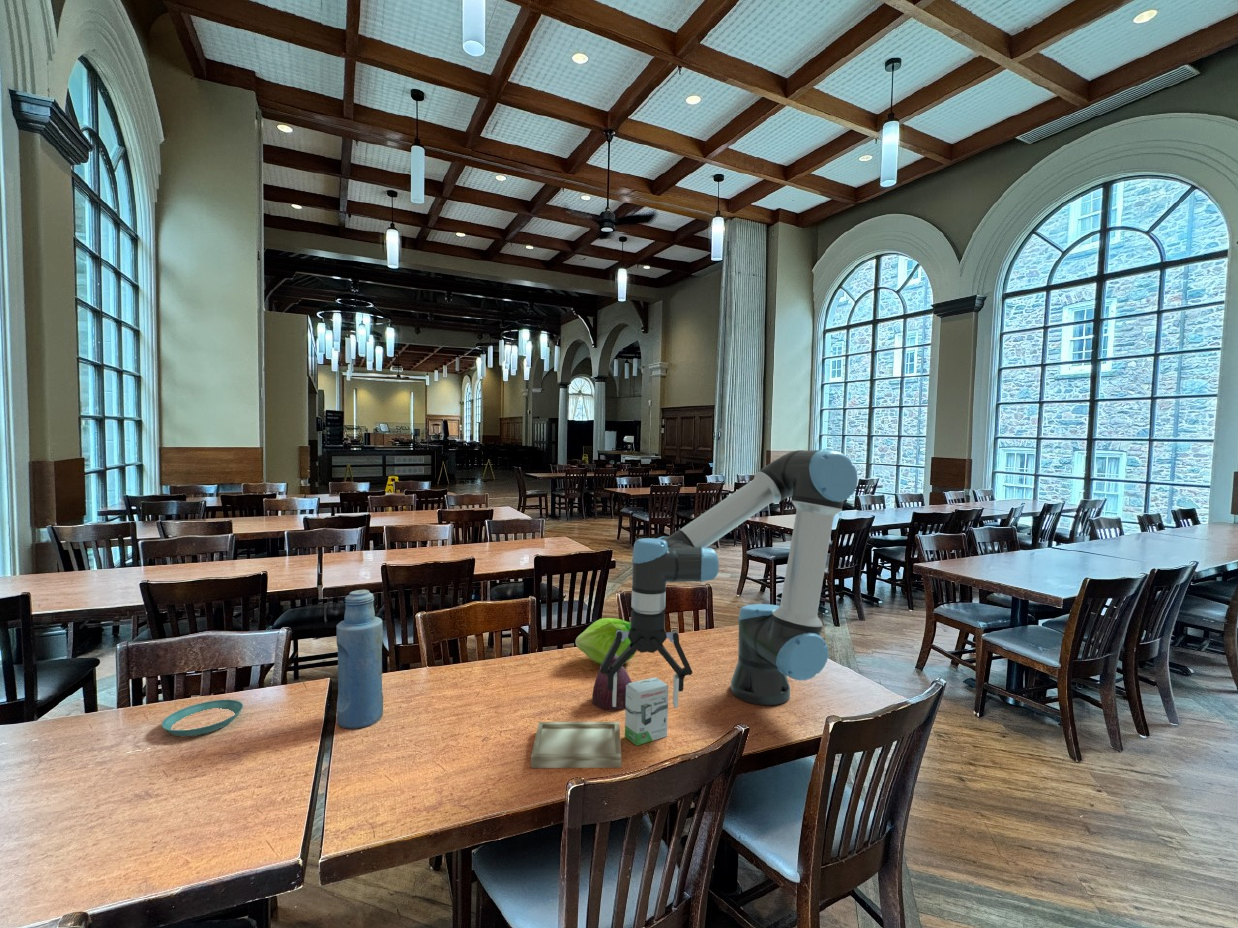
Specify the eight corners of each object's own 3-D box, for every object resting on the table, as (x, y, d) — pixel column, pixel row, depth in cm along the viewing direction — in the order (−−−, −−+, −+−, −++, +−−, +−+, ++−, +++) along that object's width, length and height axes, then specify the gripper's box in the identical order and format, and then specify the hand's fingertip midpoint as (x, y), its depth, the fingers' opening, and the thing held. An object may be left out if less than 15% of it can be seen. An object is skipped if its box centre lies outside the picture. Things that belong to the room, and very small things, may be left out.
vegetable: (627, 724, 134) (633, 673, 130) (586, 714, 136) (591, 663, 132) (636, 696, 144) (642, 647, 139) (598, 687, 146) (602, 638, 141)
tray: (618, 731, 124) (618, 721, 124) (621, 767, 110) (621, 756, 110) (538, 731, 124) (538, 721, 124) (530, 767, 110) (530, 756, 110)
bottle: (390, 719, 129) (390, 591, 128) (346, 734, 121) (346, 599, 121) (372, 705, 135) (373, 584, 134) (329, 719, 128) (330, 591, 127)
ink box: (636, 746, 118) (637, 692, 118) (623, 736, 122) (624, 683, 122) (668, 736, 123) (669, 683, 122) (655, 726, 127) (656, 675, 127)
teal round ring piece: (223, 704, 135) (223, 693, 135) (256, 719, 128) (256, 708, 128) (149, 730, 122) (149, 719, 122) (180, 749, 115) (180, 736, 115)
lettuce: (566, 662, 165) (569, 615, 168) (627, 664, 172) (629, 618, 176) (583, 668, 152) (586, 616, 155) (648, 669, 159) (650, 620, 163)
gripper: (701, 605, 126) (697, 697, 126) (591, 603, 125) (588, 695, 126) (707, 615, 119) (703, 713, 119) (591, 612, 118) (588, 711, 118)
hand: (644, 704), depth 122 cm, fingers open, 13 cm apart
